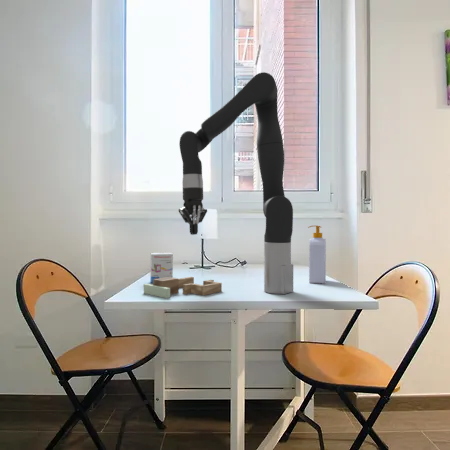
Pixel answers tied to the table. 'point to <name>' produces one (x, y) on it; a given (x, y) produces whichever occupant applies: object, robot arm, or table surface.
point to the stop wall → (157, 290)
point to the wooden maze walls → (199, 286)
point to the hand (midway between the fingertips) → (193, 234)
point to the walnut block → (168, 283)
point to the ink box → (161, 265)
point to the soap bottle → (317, 258)
